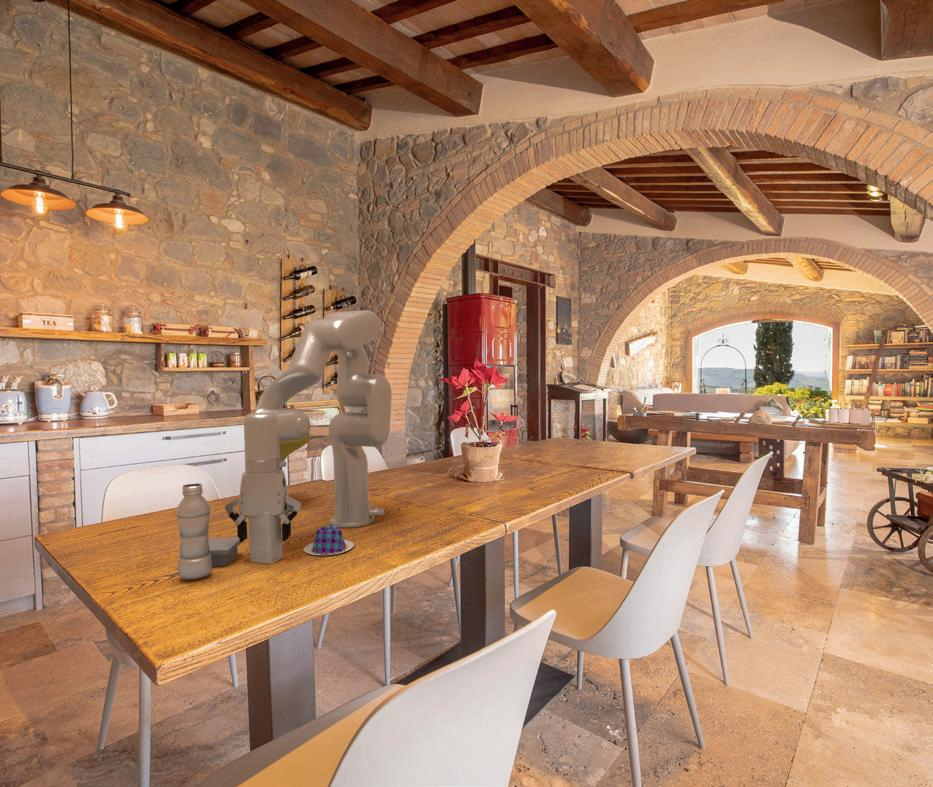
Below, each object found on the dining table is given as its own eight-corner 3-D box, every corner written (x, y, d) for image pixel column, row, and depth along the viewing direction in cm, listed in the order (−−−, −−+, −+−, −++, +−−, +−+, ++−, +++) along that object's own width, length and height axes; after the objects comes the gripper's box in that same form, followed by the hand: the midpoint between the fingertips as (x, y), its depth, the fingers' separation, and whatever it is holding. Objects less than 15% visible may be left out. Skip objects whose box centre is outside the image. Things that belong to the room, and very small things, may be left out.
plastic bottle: (185, 572, 121) (182, 482, 120) (217, 571, 121) (214, 481, 120) (172, 584, 114) (168, 489, 113) (206, 582, 115) (202, 487, 114)
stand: (243, 553, 132) (242, 537, 132) (228, 567, 123) (228, 549, 123) (201, 555, 132) (200, 538, 132) (183, 568, 123) (182, 551, 123)
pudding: (360, 542, 141) (359, 522, 140) (345, 558, 129) (344, 536, 129) (314, 541, 142) (314, 521, 142) (295, 557, 130) (295, 536, 130)
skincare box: (283, 558, 129) (281, 508, 128) (271, 564, 125) (269, 512, 124) (261, 556, 131) (259, 506, 130) (249, 562, 127) (247, 510, 126)
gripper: (304, 463, 131) (306, 534, 131) (230, 464, 130) (232, 536, 131) (296, 468, 123) (298, 544, 124) (217, 470, 122) (220, 546, 123)
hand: (264, 539), depth 127 cm, fingers open, 9 cm apart
